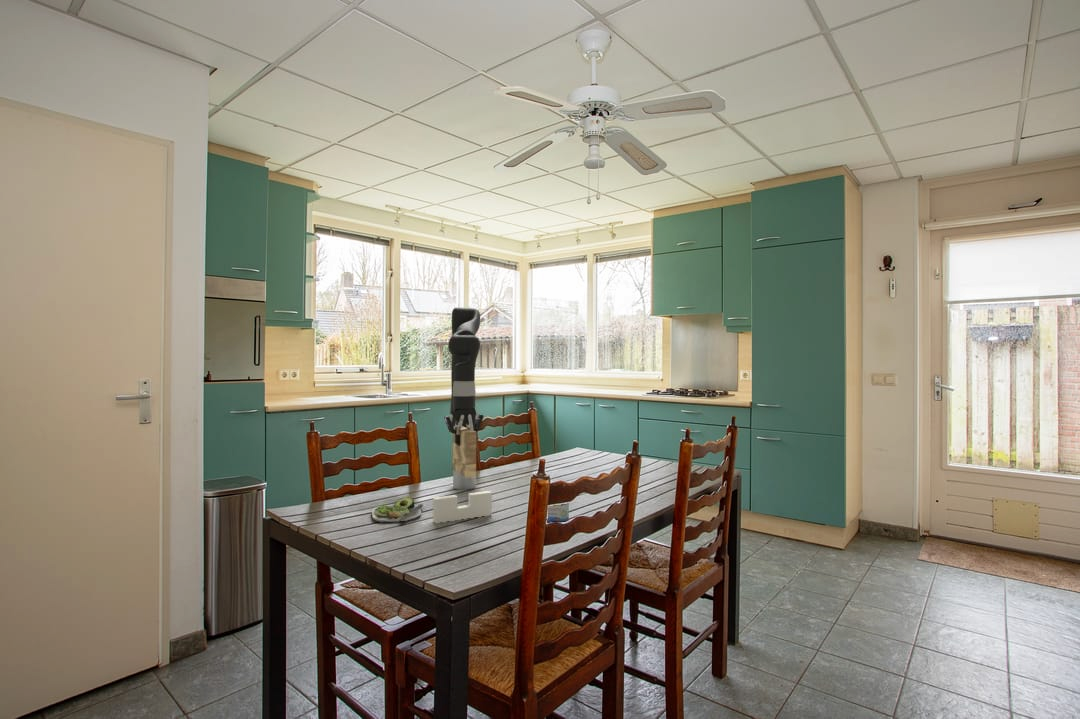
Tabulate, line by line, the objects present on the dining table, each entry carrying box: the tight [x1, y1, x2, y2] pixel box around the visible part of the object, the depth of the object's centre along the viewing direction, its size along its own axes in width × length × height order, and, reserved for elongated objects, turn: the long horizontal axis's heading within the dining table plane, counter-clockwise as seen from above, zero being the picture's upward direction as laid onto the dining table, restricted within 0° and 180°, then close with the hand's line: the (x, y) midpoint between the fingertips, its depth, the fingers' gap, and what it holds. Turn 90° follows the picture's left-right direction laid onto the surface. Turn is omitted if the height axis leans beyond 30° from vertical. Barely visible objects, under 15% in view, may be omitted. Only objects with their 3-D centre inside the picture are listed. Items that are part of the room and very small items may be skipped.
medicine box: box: [546, 502, 570, 523], centre depth 184 cm, size 8×4×9 cm, turn 99°
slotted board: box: [432, 490, 493, 524], centre depth 185 cm, size 2×20×8 cm, turn 117°
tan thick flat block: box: [451, 426, 477, 478], centre depth 184 cm, size 14×4×15 cm, turn 27°
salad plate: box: [371, 497, 424, 523], centre depth 187 cm, size 19×18×5 cm
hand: (463, 444), depth 184 cm, fingers closed on tan thick flat block, 3 cm apart
